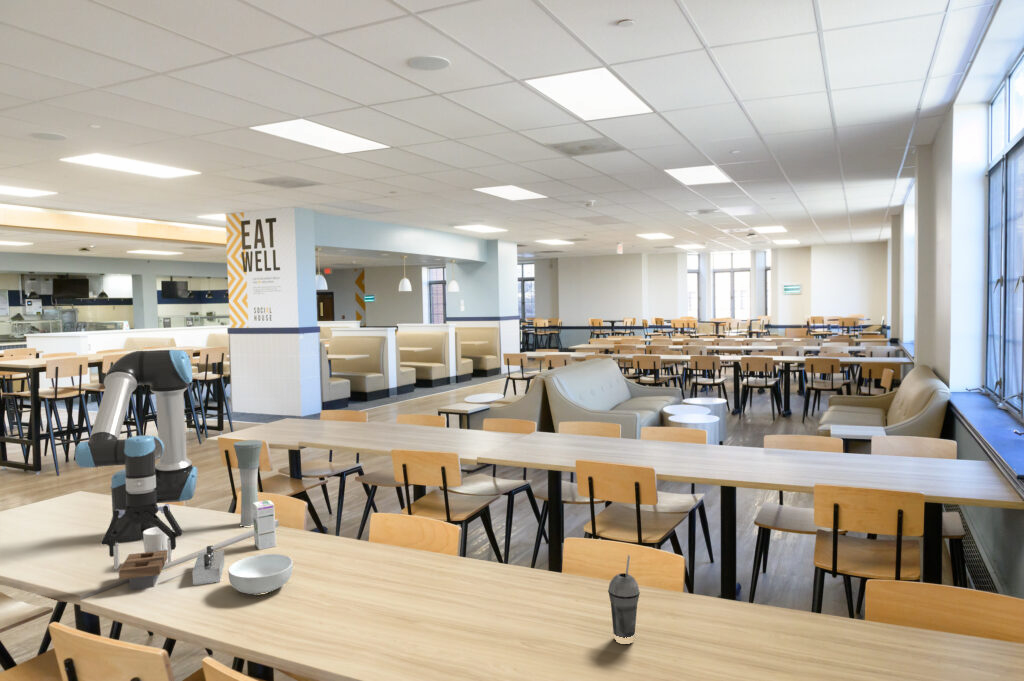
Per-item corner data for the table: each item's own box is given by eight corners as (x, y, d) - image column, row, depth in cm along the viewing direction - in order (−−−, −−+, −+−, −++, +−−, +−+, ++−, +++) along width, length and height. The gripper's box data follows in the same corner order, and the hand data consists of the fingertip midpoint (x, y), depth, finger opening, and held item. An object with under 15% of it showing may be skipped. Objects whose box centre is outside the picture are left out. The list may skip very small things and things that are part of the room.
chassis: (199, 566, 202) (198, 543, 202) (224, 563, 204) (223, 540, 204) (193, 585, 188) (192, 561, 188) (219, 581, 190) (219, 558, 190)
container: (240, 520, 246) (238, 440, 244) (267, 519, 247) (265, 439, 245) (232, 529, 236) (230, 445, 235) (260, 527, 237) (258, 444, 236)
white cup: (178, 557, 210) (177, 526, 209) (162, 567, 202) (161, 534, 201) (154, 556, 210) (153, 525, 210) (138, 566, 203) (137, 534, 202)
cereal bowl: (215, 597, 180) (214, 571, 180) (258, 574, 196) (257, 550, 195) (265, 606, 174) (264, 580, 174) (305, 581, 190) (305, 557, 190)
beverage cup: (605, 633, 158) (604, 550, 157) (635, 631, 159) (634, 549, 158) (612, 648, 151) (612, 562, 150) (643, 647, 151) (643, 561, 150)
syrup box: (276, 546, 218) (275, 503, 218) (257, 550, 215) (256, 506, 214) (272, 541, 223) (270, 499, 222) (253, 545, 220) (252, 502, 219)
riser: (136, 577, 194) (135, 564, 194) (159, 574, 196) (158, 561, 196) (129, 589, 185) (129, 575, 185) (153, 586, 187) (153, 572, 187)
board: (129, 562, 195) (129, 554, 195) (167, 558, 198) (167, 550, 198) (119, 579, 183) (118, 570, 183) (159, 574, 186) (159, 565, 186)
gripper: (87, 498, 182) (90, 574, 182) (187, 489, 190) (189, 562, 191) (94, 491, 189) (97, 565, 190) (191, 483, 197) (193, 553, 198)
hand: (143, 564), depth 190 cm, fingers open, 13 cm apart
